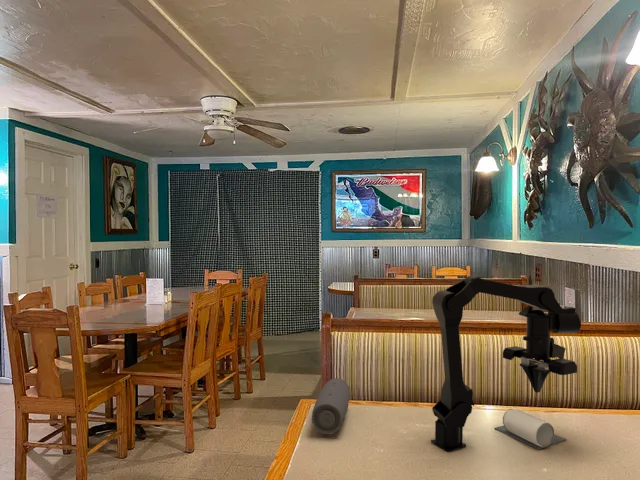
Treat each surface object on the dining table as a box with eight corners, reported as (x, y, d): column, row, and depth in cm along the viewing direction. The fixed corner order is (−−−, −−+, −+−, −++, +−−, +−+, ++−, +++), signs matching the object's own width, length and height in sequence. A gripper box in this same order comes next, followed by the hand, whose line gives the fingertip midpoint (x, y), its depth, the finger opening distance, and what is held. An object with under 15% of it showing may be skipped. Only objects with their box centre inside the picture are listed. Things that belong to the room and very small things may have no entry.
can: (553, 418, 121) (518, 404, 132) (534, 426, 118) (499, 410, 130) (556, 443, 121) (521, 426, 132) (537, 451, 119) (503, 433, 130)
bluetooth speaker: (344, 440, 125) (344, 402, 125) (309, 438, 127) (309, 400, 126) (352, 409, 148) (352, 377, 147) (322, 407, 149) (322, 375, 149)
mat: (538, 449, 120) (538, 447, 120) (494, 429, 132) (494, 427, 132) (566, 440, 125) (566, 439, 125) (521, 421, 137) (521, 420, 137)
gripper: (591, 337, 120) (590, 398, 121) (529, 324, 137) (528, 378, 137) (562, 341, 115) (561, 405, 116) (501, 327, 132) (500, 383, 132)
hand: (537, 392), depth 125 cm, fingers closed
